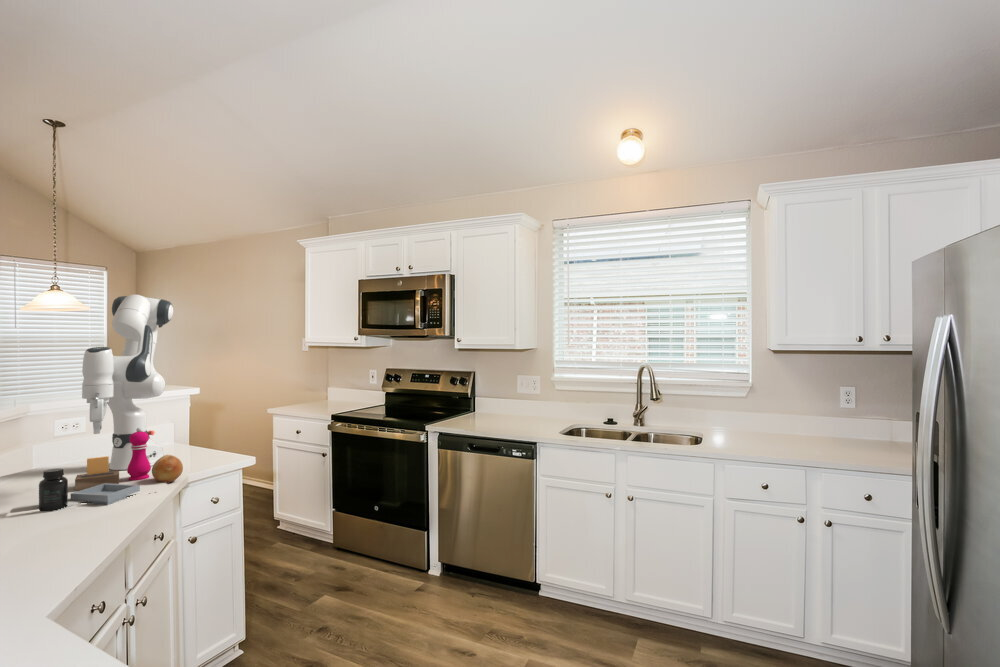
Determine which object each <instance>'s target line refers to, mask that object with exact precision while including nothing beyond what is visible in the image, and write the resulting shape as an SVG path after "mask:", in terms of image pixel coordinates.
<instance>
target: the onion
mask: <svg viewBox="0 0 1000 667" xmlns="http://www.w3.org/2000/svg"><path fill="white" fill-rule="evenodd" d="M183 470H184V466H183V463H182V461H181V459H180V458H178V457H177V456H175V455H172V454H166V455H164V456H163V457H161V458H159V459H158V460H157V461H156V462H155V463H154V465H153V466H151V474H152V477H153V478H154V480H155V481H157V482H162V483H165V482H166V483H170V482H171V483H173V482H174V481H175V480H177V479H178V478H180V477H181V475H182V473H183V472H184V471H183ZM171 483H170V484H171Z"/></svg>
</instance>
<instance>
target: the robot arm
mask: <svg viewBox="0 0 1000 667" xmlns="http://www.w3.org/2000/svg"><path fill="white" fill-rule="evenodd" d="M111 313H112V316H113V318H112V322H111V325H112V329H113V331H114V332H115V333H116V334H118V335H119V337H122V338H124V339H126V340H125V342H124V345H123V351H122V354H121V355H114V354H113V350H112V348H111V347H108V346H96V347H95V346H94V347H90V348H88V349H86V350H85V351H84V355H83V358H82V369H81V370H82V372H81V373H82V376H83V381H82V383H81V384H82V385H81V398H82V399H83V400H85V399H86V403H87V404H89V422H90V423H92V428H93V429H92V430H93V434H94V435H98V434H99V435H100V434H101V430H102V427H103V426H102V425H103V421H104V419H105V416H106V412H107V406H108V408H109V409H110V411H111V414H112V419H113V420H112V421H113V433H112V437H111V439H112V440H111V442H112V445H113V446H112V449H111V450H112V451H111V457H110V462H109V470H111V471H113V470H119V471H124V470H125V471H126V470H127V469H128V465H129V463H130V461H131V459H132V453H133V452H132V449H131V445H132V444H131V443H130V441H129V438H130V436H131V435H132V434H133V433H135V432H137V431H136V429H137V428H138V427H141V428H142V431H143V432H146V433H147V434H148V435H149V440H148V441H147V443H146V444H147V448H146V456H147V459H148V461H149V462H150V465H151V467H153V465H154V463H155V462H156V461H157V460H158V459H159V458H161V457H163V456H165V455H164V449H163V446H162V445H161V444H159V443H158V442H156V441H154V440H152V439H151V437H150V436H154V435H155V434H156V432H155V430H152V429H151V430H147V414H146V413H147V412H145V410H144V409H142V408H140V407H138V406H136V405H135V404H134V401H133V400H137V399H140V400H141V399H151V398H156V397H159V396H161V395H162V394H163V393H164V391H165V390H166V389H165V388H166V380H165V378H164V377H163V376H162V374H160V373H158V371H157V370H156V368H155V365H154V357H155V351H156V347H157V342H158V334H159V333H158V332H159V330H158V328H162V327H163V326H165V325H167V324H168V323H169V322H170V321H171V320H172V318H173V317H174V316H173V315H174V308H173V303H171V301H169V300H166V299H159V298H156V297H155V298H154V297H147V296H143V295H141V294H130V295H128V296H126V295H122V296H118V297H117V298H115V299H114V300H113V302H112V305H111Z"/></svg>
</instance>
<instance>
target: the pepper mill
mask: <svg viewBox="0 0 1000 667" xmlns="http://www.w3.org/2000/svg"><path fill="white" fill-rule="evenodd" d="M136 431H137V432H135V433H133V434H132V435H131V436H130V438H129V441H130V443H131V444H132V445H131V449H132V452H133V453H132V459H131V461H130V463H129V465H128V469H126V472H127V474H128V475H129V476H128V481H129V482H130V481H131V482H132V481H133V482H134V481H135V482H136V481H142V480H147V479H149V478H150V474H149V472H151V471H152V466H151V465H150V462H149V461H148V459H147V456H146V448H147V444H146V443H147V441H148V440H149V439H150V438H149V437H150V435H148V434H147V433H146V432H143V431H142V428H141V427H138V428H137V429H136Z"/></svg>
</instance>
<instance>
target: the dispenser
mask: <svg viewBox="0 0 1000 667" xmlns="http://www.w3.org/2000/svg"><path fill="white" fill-rule="evenodd" d="M104 483H109V484H120V470H109V472H107V473H99V474H91V475H87V473H81V474H77V475H76V477H75V479H74V492H78V491H81V490H84V489H87V488H91V487H94V486H97V485H101V484H104Z"/></svg>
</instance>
